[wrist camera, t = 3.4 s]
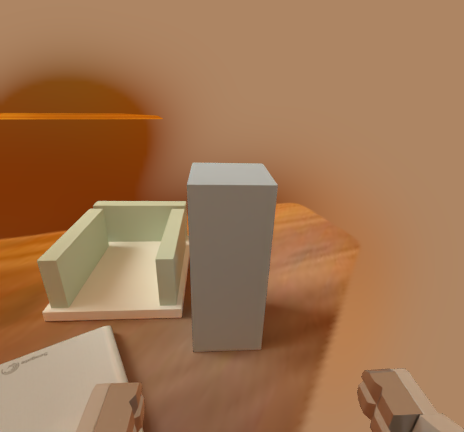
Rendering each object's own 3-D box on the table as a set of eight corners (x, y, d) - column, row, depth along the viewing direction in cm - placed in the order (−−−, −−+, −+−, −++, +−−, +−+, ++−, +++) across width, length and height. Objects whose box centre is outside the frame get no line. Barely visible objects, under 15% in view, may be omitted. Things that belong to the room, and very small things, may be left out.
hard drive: (-15, 368, 20) (-62, 637, 10) (110, 323, 24) (160, 483, 14) (-7, 384, 20) (-45, 650, 11) (113, 337, 24) (163, 500, 15)
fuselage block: (193, 351, 22) (186, 184, 17) (196, 304, 28) (192, 162, 22) (261, 349, 23) (277, 185, 17) (252, 302, 28) (262, 163, 22)
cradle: (44, 321, 25) (26, 264, 22) (101, 242, 38) (93, 201, 35) (181, 317, 26) (178, 262, 23) (191, 242, 39) (189, 201, 36)
